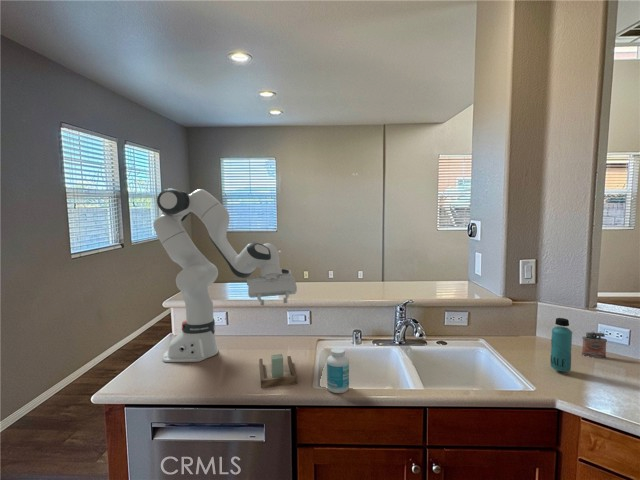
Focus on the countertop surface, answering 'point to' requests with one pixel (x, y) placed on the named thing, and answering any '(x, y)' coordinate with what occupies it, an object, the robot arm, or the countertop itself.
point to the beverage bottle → (561, 346)
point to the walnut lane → (278, 380)
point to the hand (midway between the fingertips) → (274, 303)
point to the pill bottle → (338, 371)
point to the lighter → (594, 345)
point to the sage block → (277, 365)
